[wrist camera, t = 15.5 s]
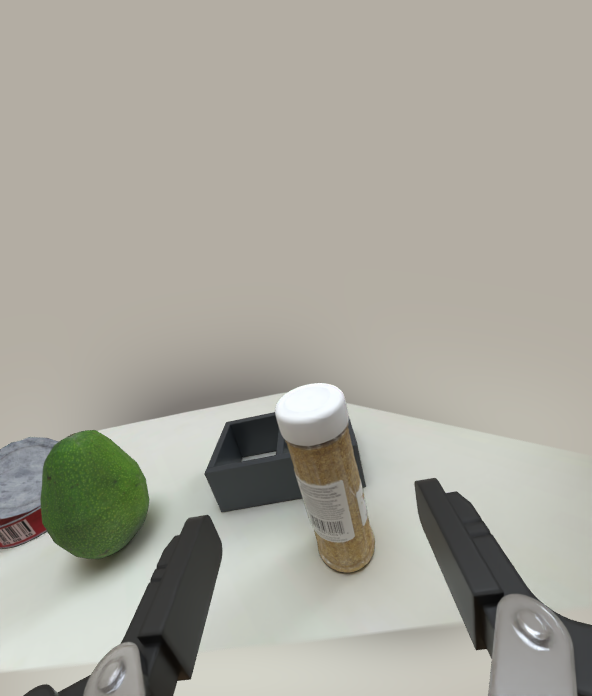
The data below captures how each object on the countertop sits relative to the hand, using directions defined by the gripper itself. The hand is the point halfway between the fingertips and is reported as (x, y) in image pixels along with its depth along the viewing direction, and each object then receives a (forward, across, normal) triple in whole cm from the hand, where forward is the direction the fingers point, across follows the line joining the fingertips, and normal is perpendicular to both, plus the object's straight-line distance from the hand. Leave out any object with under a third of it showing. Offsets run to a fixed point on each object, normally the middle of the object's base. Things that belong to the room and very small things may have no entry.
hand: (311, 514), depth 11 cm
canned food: (+18, +36, +13) cm, 42 cm away
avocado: (+12, +22, +13) cm, 28 cm away
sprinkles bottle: (+8, 0, +13) cm, 15 cm away
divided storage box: (+17, +4, +13) cm, 22 cm away
